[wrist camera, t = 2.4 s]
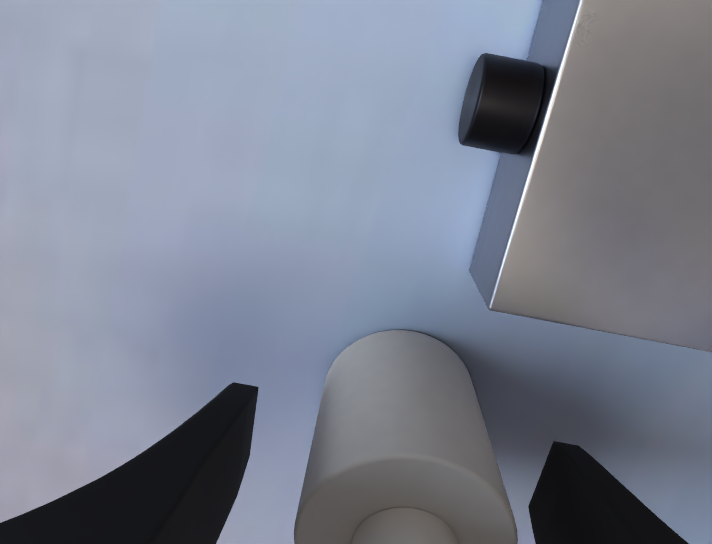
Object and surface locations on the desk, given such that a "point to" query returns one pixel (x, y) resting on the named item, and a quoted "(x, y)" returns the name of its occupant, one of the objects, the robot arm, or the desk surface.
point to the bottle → (401, 451)
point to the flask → (600, 170)
